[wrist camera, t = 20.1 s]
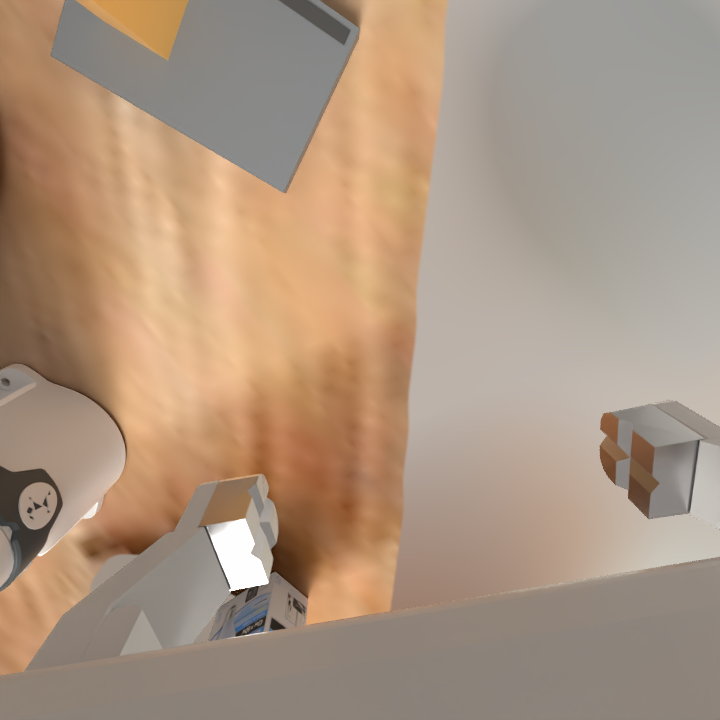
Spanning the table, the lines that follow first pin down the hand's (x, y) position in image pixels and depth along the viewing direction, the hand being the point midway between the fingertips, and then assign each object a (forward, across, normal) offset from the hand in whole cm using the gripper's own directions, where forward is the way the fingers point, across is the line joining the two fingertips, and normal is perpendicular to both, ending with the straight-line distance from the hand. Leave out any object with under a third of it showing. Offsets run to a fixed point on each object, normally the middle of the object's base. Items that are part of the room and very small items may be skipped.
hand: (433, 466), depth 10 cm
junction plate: (+31, +9, -19) cm, 38 cm away
